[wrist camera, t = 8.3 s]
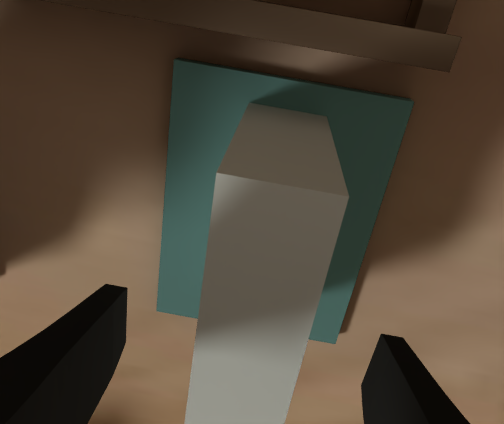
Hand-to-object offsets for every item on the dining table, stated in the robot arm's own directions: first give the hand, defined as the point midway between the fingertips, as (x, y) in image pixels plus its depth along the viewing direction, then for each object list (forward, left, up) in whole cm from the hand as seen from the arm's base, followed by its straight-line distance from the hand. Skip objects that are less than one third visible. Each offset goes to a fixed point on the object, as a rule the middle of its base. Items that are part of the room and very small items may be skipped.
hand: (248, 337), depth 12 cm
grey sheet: (0, 0, -7) cm, 7 cm away
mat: (0, 0, -8) cm, 8 cm away
